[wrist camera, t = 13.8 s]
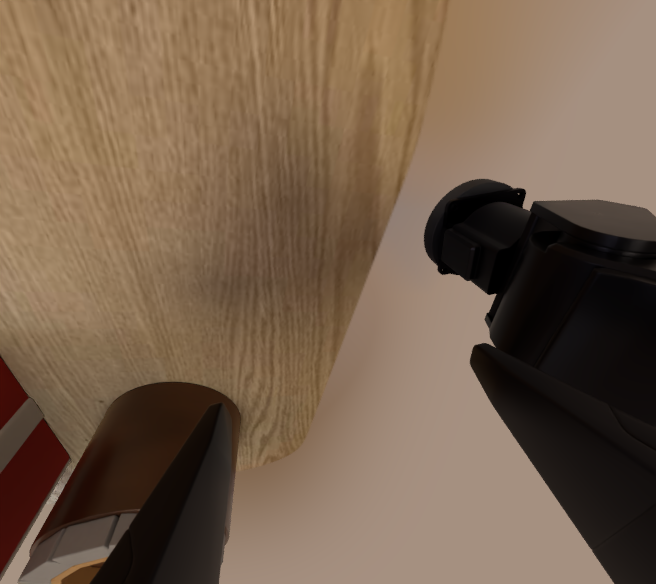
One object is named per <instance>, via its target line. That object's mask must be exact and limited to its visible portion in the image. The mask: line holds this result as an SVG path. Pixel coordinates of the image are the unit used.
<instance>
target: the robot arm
mask: <svg viewBox="0 0 656 584" xmlns="http://www.w3.org/2000/svg"><path fill="white" fill-rule="evenodd" d="M518 194H519V195H518ZM517 195H518V196H517ZM525 196H526V190H525V189H522V188H513V189H508V190H502V191H496V192H491V193H485V194H479V195H473V196H468V197H462V198H456V199H451V200H449V201H448V202H447V203H446V205H445V211H444V219H443V227H442V229H441V234H440V242H439V250H438V258H439V260H438V269H437V270H438V272H439V273H440V274H442V275H446V274H451V273H458V274H459V275H460V276H461V277H463V278H464V279H465V280H466V281H472V282H473V283H474V284H475V285H477V286H478V287H479V288H480V289H482V290H483V291H484V292H485V293H487V294H488V295H491V294H497V295H496V297H495V300H494V302H493V304H492V307H491V309H490V311H489V313H487V315H486V317H485V321H486V323H487V325H488V327H489V331H490V338H491V340H492V342H493V344H494V345H495V347H496V348H495V347H493V346H491V345H489V344H486V343H482V344H478V345H475V346H474V347H473V350H472V354H471V358H470V365H471V367H472V369H473V371H474V373H475V374H476V376H477V378H478V380H479V382H480V384H481V385H482V387H483V389H484V391H485V393H486V394H487V396H488V398H489V400H490V402H491V403H492V405H493V407H494V408H495V410H496V411H497V412H498V414H499V416H500V417H501V419H502V420H503V421H504V423H505V424H506V426H507V427H508V429H509V430H510V431H511V433H512V435H513V436H514V437H515V439H516V440H517V442H518V443H519V445H520V446H521V448H522V449H523V450H524V452H525V453H526V455H527V456H528V458H529V459H530V461H531V462H532V464H533V465H534V467H535V468H536V469H537V471H538V472H539V474H540V475H541V477H542V478H543V480H544V481H545V483H546V484H547V485H548V487H549V489H550V490H551V491H552V493H553V494H554V496H555V497H556V499H557V500H558V502H559V503H560V505H561V506H562V507H563V509H564V510H565V512H566V513H567V515H568V516H569V518H570V519H571V521H572V522H573V523H574V525H575V526H576V528H577V529H578V531H579V532H580V534H581V535H582V537H583V538H584V540H585V541H586V543H587V544H588V545H589V547H590V548H591V549H592V551H593V553H594V555H595V556H596V557H597V559H598V560H599V562H600V563H601V565H602V566H603V568H604V569H605V571H606V572H607V574H608V575H609V576H610V578H611V579H612V581H613V582H614V584H656V217H655V216H654V215H653V214H652V213H651V212H650V211H649V210H647V209H645V208H641V207H636V206H631V205H625V204H619V203H614V202H608V201H603V200H568V201H567V200H566V201H534V202H533V204H532V207H531V209H530V211H528V210H525V209H523V208H522V207H523V203H524V200H525ZM453 204H454V207H453V208H452V209H451V206H452V205H453ZM444 268H445V269H444ZM443 269H444V270H443ZM231 464H232V419H231V415H230V413H229V412H228V410H227V408H226V406H225V404H224V403H223V402H219V403H214V404H211V405H210V406H209V407H208V408H207V410H206V411H205V413H204V414H203V416H202V417H201V419H200V420H199V422H198V423H197V425H196V426H195V428H194V429H193V431H192V432H191V434H190V435H189V437H188V438H187V440H186V441H185V443H184V444H183V446H182V447H181V449H180V450H179V452H178V453H177V455H176V456H175V458H174V459H173V461H172V462H171V464H170V465H169V467H168V468H167V470H166V471H165V473H164V474H163V476H162V477H161V479H160V480H159V482H158V483H157V485H156V486H155V488H154V489H153V491H152V492H151V494H150V495H149V497H148V498H147V500H146V501H145V503H144V504H143V506H142V507H141V509H140V510H139V512H138V513H137V515H136V516H135V518H134V519H133V521H132V522H131V524H130V525H129V529H127V530H126V531H125V533H124V534H123V536H122V537H121V539H120V540H119V542H118V543H117V545H116V546H115V548H114V549H113V550H112V552H111V553H110V555H109V556H108V558H107V559H106V561H105V562H104V563H103V565H102V566H101V568H100V569H99V571H98V572H97V574H96V575H95V576H94V578H93V579H92V580H91V582H90V583H89V584H219V575H220V567H221V558H222V549H223V541H224V532H225V523H226V514H227V505H228V497H229V488H230V479H231Z"/></svg>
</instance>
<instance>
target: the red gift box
mask: <svg viewBox="0 0 656 584" xmlns="http://www.w3.org/2000/svg"><path fill="white" fill-rule="evenodd" d="M43 417H44V415H43V414H42V412H41V411H40V409H39V408H38V406H37V405H36V403H35V402H34V400H33V399H32V398H28V396H27V395H26V393H25V392H24V390H23V389H22V388H21V386H20V385H19V383H18V382H17V380H16V379H15V377H14V376H13V375H12V373H11V372H10V370H9V369H8V367H7V366H6V364H5V363H4V362H3V360H2V359H1V357H0V581H1V579H2V577H3V576H4V574H5V572H6V570H7V569H8V567H9V565H10V564H11V562H12V560H13V558H14V557H15V555H16V553H17V552H18V550H19V548H20V546H21V545H22V543H23V541H24V539H25V538H26V536H27V534H28V532H29V531H30V529H31V528H32V526H33V524H34V523H35V521H36V519H37V517H38V516H39V514H40V512H41V510H42V509H43V507H44V505H45V504H46V502H47V500H48V499H49V497H50V495H51V493H52V492H53V490H54V488H55V487H56V485H57V483H58V482H59V480H60V478H61V476H62V475H63V473H64V471H65V470H66V468H67V466H68V464H69V463H70V461H71V459H69V455H68V454H67V452H66V451H65V449H64V448H63V447H62V445H61V444H60V442H59V441H58V439H57V438H56V436H55V435H54V434H53V432H52V431H51V429H50V428H49V426H48V425H47V423H46V422H45V421H44V419H43Z"/></svg>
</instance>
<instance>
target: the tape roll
mask: <svg viewBox="0 0 656 584" xmlns="http://www.w3.org/2000/svg"><path fill="white" fill-rule="evenodd" d="M136 515H137V513H122V514H121V515H120V518H119V517H118V516H116V515H112V516H108V517H104V518H100V519H96V520H92V521H88V522H84V523H80V524H76V525H72V526H69V527H68V528H67V529H65V528H63V529H61V530H60V531H58V532H57V533H55V534H54V535H53V536H51V537H50V538H48V539H47V540H45V541H44V542H42V543H41V544H39V545H38V546H37V547H36V549H35V550H34V552H33V554H32V556H31V558H30V560H29V562H28V563H27V565H26V567H25V569H24V570H23V572H22V574H21V576H20V578H19V580H18V584H89V583H90V582H91V580H92V579H93V578H94V576H95V575H96V574H97V572H98V571H99V569H100V568H97V567H91V566H90V565H93V564H97V563H101V562H105V561H106V559H107V558H108V556H109V555H110V553H111V552H112V550H113V549H114V548H115V546H116V545H117V543H118V542H119V540H120V539H121V537H122V536H123V534H124V533H125V531H126V530H127V529H129V525H130V524H131V522H132V521H133V519H134V518H135V516H136ZM224 546H225V534H224V541H223V549H222V558H221V564H222V562H223V554H224Z"/></svg>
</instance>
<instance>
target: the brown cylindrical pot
mask: <svg viewBox="0 0 656 584" xmlns="http://www.w3.org/2000/svg"><path fill="white" fill-rule="evenodd" d="M219 402H223V403H224V404H225V406H226V408H227V410H228V412H229V413H230V415H231V419H232V464H231V479H230V488H229V497H228V505H227V514H226V523H225V532H224V534H225V545H226V543H227V541H228V539H229V532H230V522H231V511H232V502H233V491H234V481H235V472H236V462H237V452H238V442H239V432H240V421H241V418H240V413H239V411H238V409H237V407H236V406H235V404H234V403H233V402H232V401H231V400H230V399H228V398H227V397H226V396H224V395H223V394H221V393H219V392H217V391H215V390H213V389H210V388H207V387H204V386H200V385H195V384H189V383H157V384H151V385H146V386H143V387H139V388H136V389H134V390H131V391H129V392H127V393H125V394H123V395H122V396H120V397H119V398H118V399H116V400H115V401H114V402H113V403H112V405H111V406H110V407H109V409H108V411H107V412H106V414H105V416H104V418H103V419H102V421H101V423H100V425H99V427H98V428H97V430H96V432H95V434H94V435H93V437H92V439H91V441H90V443H89V444H88V446H87V448H86V450H85V452H84V453H83V455H82V457H81V459H80V460H79V462H78V464H77V466H76V468H75V469H74V471H73V473H72V475H71V476H70V478H69V480H68V482H67V484H66V485H65V487H64V489H63V491H62V493H61V494H60V496H59V498H58V500H57V501H56V503H55V505H54V507H53V509H52V511H51V512H50V514H49V516H48V518H47V519H46V521H45V523H44V525H43V527H42V528H41V530H40V532H39V534H38V535H37V537H36V539H35V541H34V543H33V544H32V546H31V549H30V558H31V556H32V554H33V552H34V550H35V549H36V547H37V546H38V545H39V544H41V543H42V542H44V541H45V540H47V539H48V538H50V537H51V536H53V535H54V534H55V533H57V532H58V531H60V530H61V529H63V528H65V529H67V528H68V527H69V526H72V525H76V524H80V523H84V522H88V521H92V520H96V519H100V518H104V517H108V516H112V515H116V516H118V517H119V518H120V515H121V514H122V513H138V512H139V510H140V509H141V507H142V506H143V504H144V503H145V501H146V500H147V498H148V497H149V495H150V494H151V492H152V491H153V489H154V488H155V486H156V485H157V483H158V482H159V480H160V479H161V477H162V476H163V474H164V473H165V471H166V470H167V468H168V467H169V465H170V464H171V462H172V461H173V459H174V458H175V456H176V455H177V453H178V452H179V450H180V449H181V447H182V446H183V444H184V443H185V441H186V440H187V438H188V437H189V435H190V434H191V432H192V431H193V429H194V428H195V426H196V425H197V423H198V422H199V420H200V419H201V417H202V416H203V414H204V413H205V411H206V410H207V408H208V407H209V406H210V405H211V404H214V403H219ZM103 563H104V562H101V563H97V564H93V565H90V566H91V567H97V568H101V566H102V565H103Z"/></svg>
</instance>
